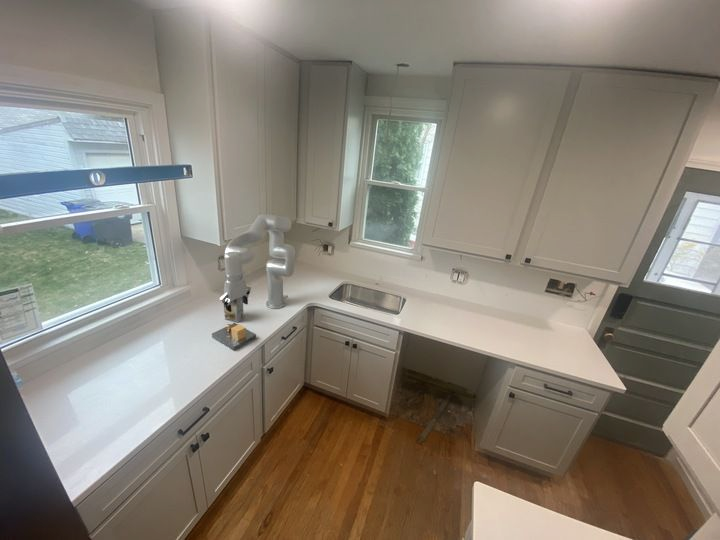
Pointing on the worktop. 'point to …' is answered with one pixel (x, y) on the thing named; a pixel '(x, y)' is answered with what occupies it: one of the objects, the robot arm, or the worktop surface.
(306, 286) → the worktop surface
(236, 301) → the coffee box
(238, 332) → the tan cardboard cube
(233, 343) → the plate
